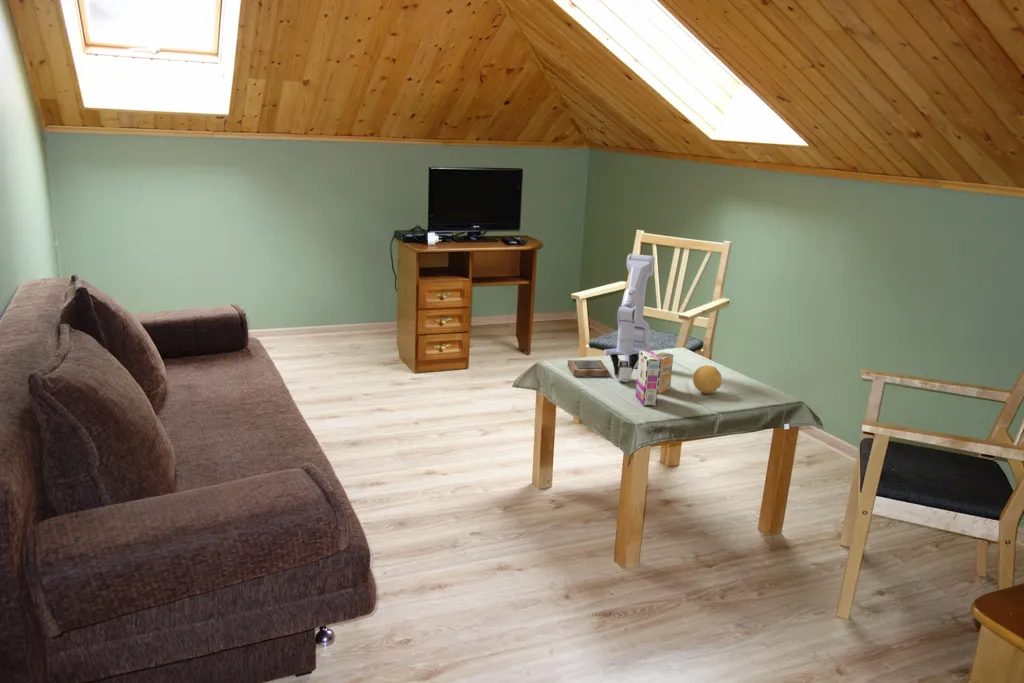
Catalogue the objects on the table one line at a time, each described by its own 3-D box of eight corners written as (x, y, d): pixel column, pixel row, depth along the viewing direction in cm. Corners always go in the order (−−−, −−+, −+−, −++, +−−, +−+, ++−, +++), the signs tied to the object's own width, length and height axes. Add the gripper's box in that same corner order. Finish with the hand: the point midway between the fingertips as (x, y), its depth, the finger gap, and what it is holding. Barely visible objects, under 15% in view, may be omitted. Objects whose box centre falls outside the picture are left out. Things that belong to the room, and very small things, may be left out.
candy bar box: (657, 406, 268) (661, 359, 263) (643, 406, 267) (646, 359, 263) (649, 395, 278) (652, 350, 274) (635, 395, 278) (638, 350, 273)
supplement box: (660, 394, 280) (663, 359, 276) (648, 391, 282) (651, 356, 279) (671, 389, 286) (674, 354, 282) (658, 386, 289) (661, 351, 285)
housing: (625, 373, 298) (626, 358, 296) (631, 381, 289) (633, 365, 287) (613, 373, 297) (614, 358, 296) (619, 381, 288) (620, 365, 287)
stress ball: (690, 396, 282) (707, 385, 274) (684, 371, 286) (701, 359, 278) (712, 398, 286) (730, 387, 278) (706, 373, 290) (724, 361, 282)
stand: (600, 366, 310) (600, 359, 309) (607, 376, 297) (608, 369, 297) (567, 366, 308) (567, 359, 308) (573, 376, 296) (573, 369, 295)
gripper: (608, 341, 285) (605, 377, 288) (647, 341, 286) (644, 377, 290) (604, 336, 291) (601, 371, 295) (642, 336, 293) (639, 371, 297)
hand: (622, 373), depth 293 cm, fingers closed on housing, 5 cm apart
